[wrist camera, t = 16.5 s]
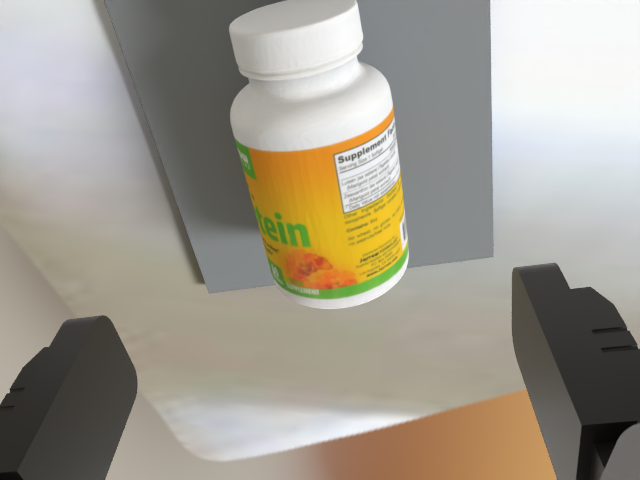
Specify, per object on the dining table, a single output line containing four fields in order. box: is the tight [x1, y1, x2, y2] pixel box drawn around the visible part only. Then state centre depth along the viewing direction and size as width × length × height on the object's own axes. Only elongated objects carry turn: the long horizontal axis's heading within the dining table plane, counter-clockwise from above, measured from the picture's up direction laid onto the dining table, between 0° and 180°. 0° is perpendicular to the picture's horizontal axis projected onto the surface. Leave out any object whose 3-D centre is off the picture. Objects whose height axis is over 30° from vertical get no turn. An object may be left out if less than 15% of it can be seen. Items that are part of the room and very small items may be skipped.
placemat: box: [104, 0, 493, 293], centre depth 23 cm, size 15×13×1 cm
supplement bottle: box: [229, 0, 409, 309], centre depth 20 cm, size 5×5×10 cm
